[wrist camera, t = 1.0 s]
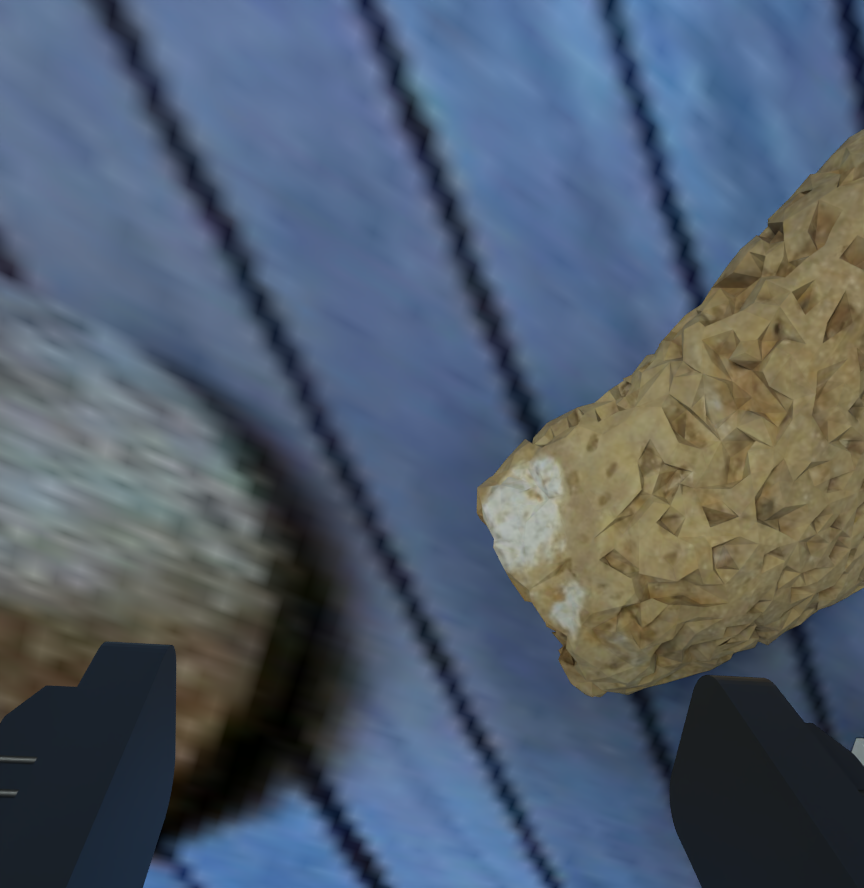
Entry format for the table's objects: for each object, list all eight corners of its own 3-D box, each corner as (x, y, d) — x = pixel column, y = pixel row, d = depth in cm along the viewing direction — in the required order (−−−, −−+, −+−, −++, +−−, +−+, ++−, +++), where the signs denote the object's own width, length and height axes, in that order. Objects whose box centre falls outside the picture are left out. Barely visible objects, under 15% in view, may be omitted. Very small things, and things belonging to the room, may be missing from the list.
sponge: (593, 640, 32) (1147, 423, 26) (591, 769, 24) (1366, 508, 18) (433, 357, 30) (991, 50, 24) (379, 405, 23) (1166, -24, 16)
